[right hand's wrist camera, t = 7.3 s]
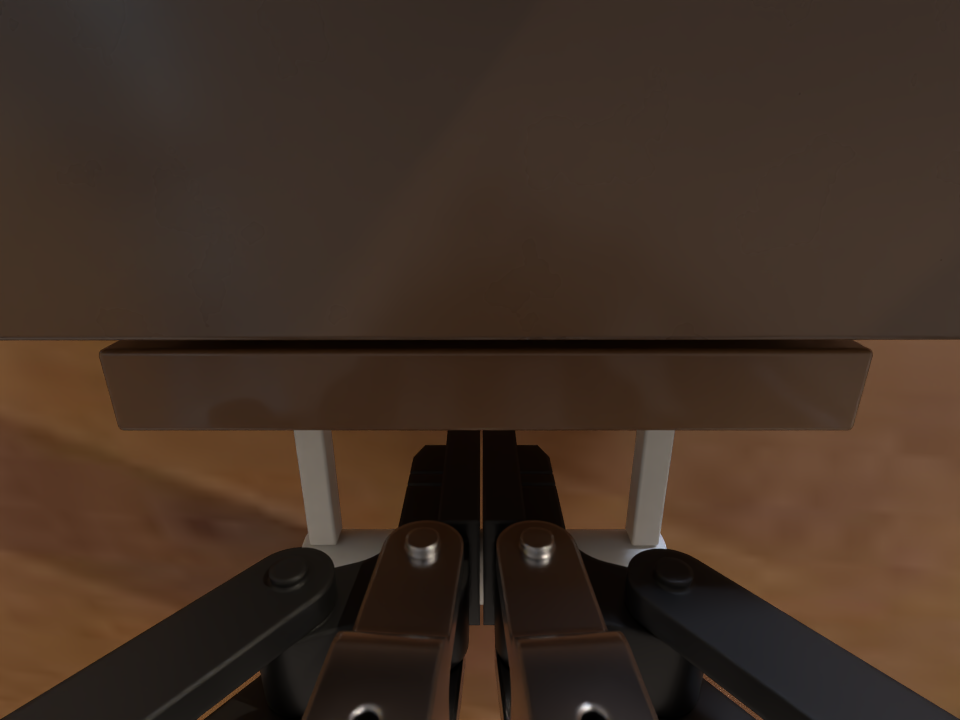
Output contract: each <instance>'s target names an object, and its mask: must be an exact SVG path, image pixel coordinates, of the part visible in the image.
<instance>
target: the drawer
mask: <svg viewBox="0 0 960 720" xmlns="http://www.w3.org/2000/svg"><path fill="white" fill-rule="evenodd" d="M872 356H873V354H872V351H871V349H869V348H867V347H865V346H863V345H861V344H859V343H857V342H855V341H853V340H119V341H117V342H115V343H114V344H112V345H110V346H108V347H106V348H104V349H102V350H101V351H100V352H99V358H100V361H101V365H102V369H103V372H104V376H105V380H106V383H107V387H108V391H109V394H110V398H111V402H112V405H113V409H114V413H115V416H116V420H117V424H118V427H119V428H120V429H121V430H294V436H295V443H296V450H297V457H298V464H299V471H300V478H301V485H302V492H303V499H304V506H305V513H306V520H307V527H308V534H307V535H306V537H305V539H304V542H303V545H302V547H309V548H315V549H318V550H321V551H323V552H324V553H326V554H327V555H328V556H330V558H331V559H332V561H333V563H334V568H335V567H339V566H343V565H348V564H352V563H356V562H360V561H363V560H366V559H368V558H371V557H373V556H375V555H377V554H379V553H380V551H381V548H382V546H383V543H384V541H385V539H386V538H387V537H388V535H389V534H390V533H391V532H392V531H394V530H395V529H342V520H341V511H340V502H339V494H338V485H337V476H336V467H335V459H334V450H333V441H332V432H331V430H637V432H636V441H635V450H634V459H633V467H632V476H631V485H630V493H629V502H628V511H627V519H626V529H566V531H568V532H569V533H570V534H571V535H572V537H573V538H574V539H575V541H576V543H577V546H578V548H579V549H580V550H581V551H583V552H584V553H586V554H587V555H589V556H591V557H593V558H596V559H598V560H602V561H605V562H609V563H613V564H617V565H621V566H626V567H628V564H629V562H630V560H631V559H632V558H633V557H634V556H635V555H636V554H638V553H640V552H642V551H645V550H649V549H658V548H661V549H667V547H666V544H665V542H664V539H663V537H662V535H661V534H660V530H661V523H662V517H663V510H664V503H665V496H666V489H667V482H668V475H669V468H670V461H671V454H672V447H673V440H674V433H675V430H850V429H851V428H852V427H853V425H854V421H855V418H856V414H857V410H858V407H859V403H860V399H861V396H862V392H863V389H864V385H865V381H866V378H867V374H868V371H869V367H870V363H871V360H872ZM480 605H483V529H480Z"/></svg>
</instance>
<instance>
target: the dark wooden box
mask: <svg viewBox="0 0 960 720" xmlns="http://www.w3.org/2000/svg"><path fill="white" fill-rule="evenodd" d="M0 340H960V0H0Z"/></svg>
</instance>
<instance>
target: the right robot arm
mask: <svg viewBox="0 0 960 720" xmlns="http://www.w3.org/2000/svg"><path fill="white" fill-rule="evenodd" d="M552 472H553V471H552V467H551V463H550V458H549V457H548V455H547V454H546V453H545V452H544V451H543V450H542V449H541V448H540V447H539V446H538V445H517V444H516V435H515V430H483V623H484V625H495V672H496V681H497V690H498V698H499V707H500V716H501V720H756V719H755V718H754V717H752V716H751V715H750V714H748V713H747V712H746V711H745V710H743V709H742V708H741V707H739V706H738V705H737V704H736V703H734V702H733V701H732V700H730V699H729V698H728V697H727V696H725V695H724V694H723V693H722V692H720V691H719V690H718V689H716V688H715V687H714V686H713V685H711V684H710V683H709V682H707V681H706V680H705V679H704V678H703V674H706V675H707V676H708V677H709V678H711V679H712V680H713V681H715V682H716V683H717V684H719V685H720V686H721V687H722V688H724V689H725V690H726V691H728V692H729V693H730V694H732V695H733V696H734V697H735V698H737V699H738V700H739V701H741V702H742V703H743V704H744V705H746V706H747V707H748V708H750V709H751V710H752V711H754V712H755V713H756V714H757V715H759V716H760V717H761V718H762V719H764V720H960V719H958V718H956V717H955V716H953V715H952V714H950V713H948V712H947V711H945V710H943V709H942V708H940V707H938V706H937V705H935V704H934V703H932V702H930V701H929V700H927V699H925V698H924V697H922V696H920V695H919V694H917V693H915V692H914V691H912V690H911V689H909V688H907V687H906V686H904V685H902V684H901V683H899V682H897V681H896V680H894V679H892V678H891V677H889V676H888V675H886V674H884V673H883V672H881V671H879V670H878V669H876V668H874V667H873V666H871V665H870V664H868V663H866V662H865V661H863V660H861V659H860V658H858V657H856V656H855V655H853V654H851V653H850V652H848V651H847V650H845V649H843V648H842V647H840V646H838V645H837V644H835V643H833V642H832V641H830V640H828V639H827V638H825V637H824V636H822V635H820V634H819V633H817V632H815V631H814V630H812V629H810V628H809V627H807V626H805V625H804V624H802V623H801V622H799V621H797V620H796V619H794V618H792V617H791V616H789V615H787V614H786V613H784V612H783V611H781V610H779V609H778V608H776V607H774V606H773V605H771V604H769V603H768V602H766V601H764V600H763V599H761V598H760V597H758V596H756V595H755V594H753V593H751V592H750V591H748V590H746V589H745V588H743V587H741V586H740V585H738V584H737V583H735V582H733V581H732V580H730V579H728V578H727V577H725V576H723V575H722V574H720V573H719V572H717V571H715V570H714V569H712V568H710V567H709V566H707V565H705V564H704V563H702V562H700V561H699V560H697V559H695V558H693V557H692V556H690V555H687V554H685V553H682V552H679V551H676V550H670V549H661V548H658V549H649V550H645V551H642V552H640V553H638V554H636V555H635V556H634V557H633V558H632V559H631V560H630V562H629V564H628V567H626V566H621V565H617V564H613V563H609V562H605V561H602V560H598V559H596V558H593V557H591V556H589V555H587V554H586V553H584V552H583V551H581V550H580V549H579V548H578V546H577V543H576V541H575V539H574V538H573V537H572V535H571V534H570V533H569V532H568V531H566V529H565V525H564V520H563V516H562V511H561V507H560V502H559V498H558V494H557V489H556V486H555V480H554V476H553V473H552ZM469 625H480V430H448V434H447V443H446V445H425V446H424V447H423V448H422V449H421V450H420V451H419V452H418V453H417V454H416V455H415V456H414V458H413V462H412V467H411V471H410V476H409V481H408V486H407V490H406V495H405V499H404V504H403V508H402V513H401V518H400V522H399V527H398V528H397V529H395V530H394V531H392V532H391V533H390V534H389V535H388V537H387V538H386V539H385V541H384V543H383V546H382V548H381V551H380V553H379V554H377V555H375V556H373V557H371V558H368V559H366V560H363V561H360V562H356V563H352V564H348V565H343V566H339V567H335V568H334V563H333V561H332V559H331V558H330V556H328V555H327V554H326V553H324V552H323V551H321V550H318V549H315V548H309V547H298V548H290V549H286V550H282V551H279V552H277V553H274V554H272V555H270V556H268V557H266V558H264V559H263V560H261V561H260V562H258V563H256V564H255V565H253V566H251V567H250V568H248V569H246V570H245V571H243V572H242V573H240V574H238V575H237V576H235V577H233V578H232V579H230V580H228V581H227V582H225V583H223V584H222V585H220V586H219V587H217V588H215V589H214V590H212V591H210V592H209V593H207V594H205V595H204V596H202V597H200V598H199V599H197V600H196V601H194V602H192V603H191V604H189V605H187V606H186V607H184V608H182V609H181V610H179V611H178V612H176V613H174V614H173V615H171V616H169V617H168V618H166V619H164V620H163V621H161V622H159V623H158V624H156V625H155V626H153V627H151V628H150V629H148V630H146V631H145V632H143V633H141V634H140V635H138V636H136V637H135V638H133V639H132V640H130V641H128V642H127V643H125V644H123V645H122V646H120V647H118V648H117V649H115V650H113V651H112V652H110V653H109V654H107V655H105V656H104V657H102V658H100V659H99V660H97V661H95V662H94V663H92V664H91V665H89V666H87V667H86V668H84V669H82V670H81V671H79V672H77V673H76V674H74V675H72V676H71V677H69V678H68V679H66V680H64V681H63V682H61V683H59V684H58V685H56V686H54V687H53V688H51V689H49V690H48V691H46V692H45V693H43V694H41V695H40V696H38V697H36V698H35V699H33V700H31V701H30V702H28V703H27V704H25V705H23V706H22V707H20V708H18V709H17V710H15V711H13V712H12V713H10V714H8V715H7V716H5V717H4V718H2V719H0V720H197V719H198V718H199V717H200V716H201V715H203V714H204V713H205V712H206V711H208V710H209V709H210V708H212V707H213V706H214V705H216V704H217V703H218V702H219V701H221V700H222V699H223V698H225V697H226V696H227V695H229V694H230V693H231V692H232V691H234V690H235V689H236V688H238V687H239V686H240V685H241V684H243V683H244V682H245V681H247V680H248V679H249V678H251V677H252V676H253V675H254V674H256V673H257V672H258V671H260V674H261V675H260V676H259V677H258V678H256V679H255V680H254V681H253V682H251V683H250V684H249V685H247V686H246V687H245V688H244V689H242V690H241V691H240V692H239V693H237V694H236V695H235V696H233V697H232V698H231V699H230V700H228V701H227V702H226V703H224V704H223V705H222V706H221V707H219V708H218V709H217V710H215V711H214V712H213V713H212V714H210V715H209V716H208V717H206V718H205V719H204V720H459V716H460V707H461V698H462V690H463V681H464V672H465V654H466V652H467V649H468V643H469Z"/></svg>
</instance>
